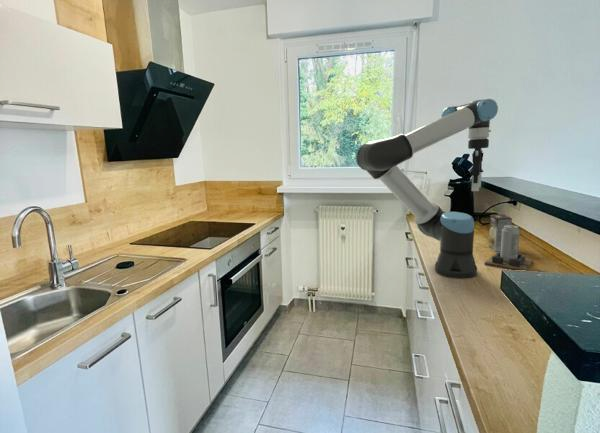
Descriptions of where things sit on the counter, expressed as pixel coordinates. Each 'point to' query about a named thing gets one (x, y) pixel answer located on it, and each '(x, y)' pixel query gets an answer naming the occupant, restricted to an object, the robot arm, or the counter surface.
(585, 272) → the counter surface
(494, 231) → the coffee box
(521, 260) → the socket board
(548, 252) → the counter surface
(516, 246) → the energy drink can
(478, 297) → the counter surface
